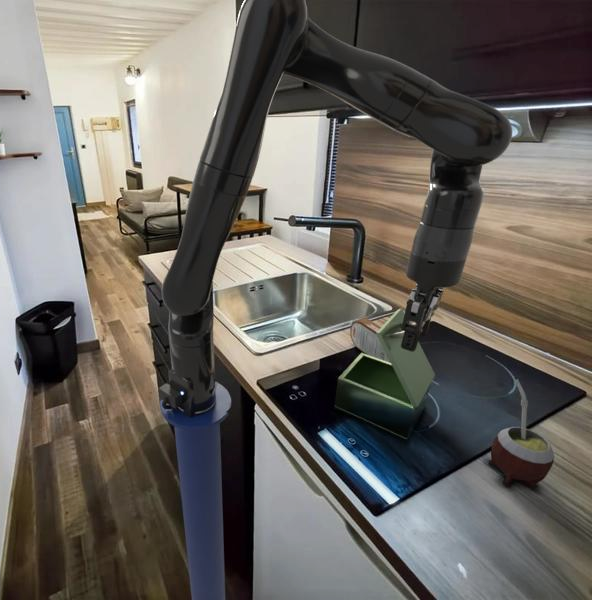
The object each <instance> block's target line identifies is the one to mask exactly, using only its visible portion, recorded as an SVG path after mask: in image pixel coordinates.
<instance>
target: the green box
mask: <svg viewBox="0 0 592 600" xmlns="http://www.w3.org/2000/svg"><path fill="white" fill-rule="evenodd" d="M431 385H432V383H431V384H430V386H429V387H428V389H427V391H426V393H425V395H424V396H423V398H422V400H421V402H420V404H419V405H418V407H413V406H412V404H411V402H410V400H409V398H408V396H407V394H406V392H405V390H404V388H403V386H402V384H401V382H400V380H399V378H398V376H397V374H396V372H395V370H394V368H393V366H392V364H391V363H390V362H387V361H384V360H381V359H378V358H375V357H372V356H369V355H366V354H365V353H363V352H361V353H359V354H358V356H357V357H356V358H355V359H354V360H353V361H352V363H351V364H349V366H348V367H346V369H345V370H344V371H343V372H342V374H341V375H340V376H339V377H338V378H337V385H336V391H335V392H336V393H335V399H334V406H333V409H334V410H336V411H339V413H343V414H345V415H346V416H349V417H351V418H353V419H356V420H357V421H359V422H362V423H364V424H366V425H369V426H371V427H372V428H375V429H377V430H379V431H381V432H383V433H386V434H388V435H390V436H392V437H394V438H396V439H398V440H401V441H403V442H405V443H406V442H408V440H409V437H410V436H411V434H412V432H413V430H414V429H415V426H416V424H417V423H418V421H419V419H420V417H421V415H422V413H423V412H424V410H425V407H426V403H427V399H428V395H429V392H430V389H431Z"/></svg>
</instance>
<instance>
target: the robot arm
mask: <svg viewBox="0 0 592 600" xmlns="http://www.w3.org/2000/svg"><path fill="white" fill-rule="evenodd" d="M283 75H285V76H289V77H292V78H295V79H298V80H300V81H302V82H305V83H308V84H310V85H312V86H314V87H317V88H319V89H321V90H323V91H325V92H326V93H329V94H330V95H332V96H334V97H336V98H337V99H339V100H341V101H343V103H346V104H347V105H349V106H350V107H352V108H354V109H355V110H357V111H359V112H361V113H362V114H364V115H365V116H367V117H369V118H371V119H373V120H374V121H376V122H378V123H379V124H381V125H383V126H385V127H387V128H389V129H391V130H393V131H394V132H396V133H398V134H400V135H403V136H406V137H408V138H412V139H415V140H417V141H419V142H420V143H422V144H423V145H424V146H425V145H426V146H427V147H429V148H430V149H432V152H431V157H430V168H429V179H428V190H427V195H426V198H425V201H424V204H423V208H422V212H421V215H420V221H419V224H418V226H417V229H416V230H415V234H414V237H413V242H412V245H411V250H410V254H409V257H408V261H407V265H406V270H405V276H406V277H407V278H408V279H409V280H410V281H412V282H414V283H415V284H416V285H415V288H412V289H411V292H410V294H409V298H408V300H407V301H406V306H405V310H404V314H405V315H404V319H403V324H402V326H401V330H402V331H405V332H404V336H403V339H402V343H401V348H403V349H405V350H408V351H411V352H413V351H415V349H416V347H417V344H418V342H419V340H420V336H422V337H424V336H426V335H427V333H428V330H429V327H430V323H431V320H432V318H433V316H435V311H437V310H438V308H439V306H440V302H441V300H442V297H443V296H444V292H445V290H444V288H450V287H454V286H456V285H458V284H459V283H460V280H461V277H462V274H463V271H464V268H465V265H466V261H467V259H468V256H469V253H470V249H471V246H472V243H473V238H474V231H475V226H476V223H477V220H478V217H479V214H480V212H481V211H480V210H481V208H482V204H483V200H484V189H483V187H482V185H481V181H480V179H481V173H482V170H483V166H484V165H487V164H490V163H492V162H494V161H495V160H497V159H498V158H500V157H501V156H502V155H503V154H504V153H505V152H506V151H507V149H508V148H509V146H510V145H511V141H512V139H513V127H512V124H511V122H510V119H509V118H508V117H507V116H506V114H504V113H503V112H502V111H500V110H499V109H497V108H495V107H493V106H492V105H489V104H487V103H485V102H482V101H479V100H477V99H474V98H472V97H469V96H468V95H465V94H462V93H459V92H456V91H453V90H450V89H449V88H446V87H445V86H443V85H442V84H440V83H438V81H436V80H434V79H432V78H430V77H428V76H427V75H425V74H423V73H421V72H420V71H418V70H416V69H415V68H413V67H410V66H408V65H406V64H404V63H402V62H400V61H398V60H395V59H393V58H390V57H388V56H385V55H382V54H380V53H379V54H378V53H375V52H371V51H369V50H365V49H362V48H358V47H356V46H353V45H350V44H348V43H347V42H344V41H342V40H340V39H338V38H336V37H334V36H333V35H331V34H329V33H328V32H326V31H325V30H324V29H322V28H321V27H320V26H318V24H316V23H315V22H314V21H312V20H311V18H309V16H308V6H307V2H306V0H244V1H243V3H242V5H241V7H240V9H239V13H238V17H237V21H236V27H235V31H234V37H233V42H232V46H231V52H230V56H229V61H228V65H227V71H226V75H225V79H224V84H223V87H222V91H221V95H220V98H219V101H218V104H217V106H216V109H215V112H214V115H213V117H212V119H211V122H210V126H209V129H208V132H207V135H206V138H205V141H204V145H203V148H202V151H201V153H200V156H199V160H198V162H197V165H196V170H195V173H194V175H193V180H192V184H191V189H190V192H189V197H188V200H187V206H186V209H185V215H184V221H183V225H182V226H183V227H182V232H181V237H180V240H179V244H178V246H177V249H176V252H175V255H174V257H173V259H172V262H171V265H170V267H169V268H168V271H166V272H167V273H166V274H165V277H164V278H163V281H162V284H161V298H162V299H161V300H162V301H163V304H164V305H165V307H166V309H167V310H168V313H169V314H168V326H167V331H168V342H169V351H170V362H171V369H170V370H168V380H169V383H167V382H166V383H164V384H163V385H162V386H160V387H158V395H159V400H163V403H162V407H163V408H164V409H169V410H170V409H171V408H172V407H173V408H175V409H178V410H179V411H181V412H183V413H184V414H186V415H187V416H189V417H191V418H192V417H193V416H195V415H200V414H204V413H207V412H208V411H210V410H211V409H212V408H213V407H214V406H215V404H216V393H215V389H216V386H217V383H218V381H216V372H215V371H216V369H215V344H214V341H215V340H214V322H215V321H214V320H215V319H214V315H215V312H214V309H215V308H214V277H215V273H216V269H217V266H218V263H219V259H220V256H221V253H222V250H223V249H224V246H225V244H226V242H227V240H228V238H229V236H230V234H231V232H232V230H233V227H234V225H235V223H236V222H237V219H238V217H239V214H240V212H241V209H242V207H243V205H244V203H245V200H246V197H247V195H248V193H249V189H250V186H251V184H252V181H253V178H254V176H255V172H256V169H257V165H258V162H259V158H260V156H261V155H260V154H261V150H262V145H263V141H264V135H265V131H266V126H267V120H268V116H269V111H270V107H271V105H272V102H273V99H274V96H275V93H276V91H277V89H278V87H279V84H280V82H281V79H282V77H283ZM411 321H412V322H415V323H416V324H417V325H413V324H410V322H411ZM425 321H426V323H425ZM424 323H425V324H424ZM215 382H216V385H215ZM166 404H169V405H166Z"/></svg>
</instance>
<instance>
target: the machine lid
mask: <svg viewBox="0 0 592 600" xmlns="http://www.w3.org/2000/svg"><path fill="white" fill-rule="evenodd" d="M404 315H405V311H404V310H403V308H398V309H397V310H396V311H394V313H393V314H392V315H391V316H390V317H389V318H388V319H387V320H386V322H385V323H383V325H382V326H380V327H381V328H380V329H379V330H378V332H377V333H376V335H377V337H378V339H379V341H380V343H381V344H382V346H383V348H384V350H385V352H386V354H387V356H388V358H389V360H390V362H391V364H392V366H393V368H394V370H395V372H396V374H397V376H398V378H399V380H400V382H401V384H402V386H403V388H404V390H405V392H406V394H407V396H408V398H409V400H410V402H411V404H412V406H413V407H418V405H419V404H420V402H421V400H422V398H423V396H424V395H425V393H426V391H427V389H428V387H429V386H430V387H431V385H432V382H433V381H434V378H435V377H436V373H435V371H434V370H433V367H432V366H431V363H430V362H429V360H428V358H427V356H426V354H425V351H424V350H423V347H422V346H421V343H420V341H418V344H417V347H416V349H415V351H413V352H411V351H408V350H405V349H403V348H401V343H402V339H403V336H404V332H405V331H402V330H401V326H402V324H403V319H404ZM425 323H426V321H425ZM425 323H424V324H425ZM410 324H413V325H417V324H416V323H415V322H412V321H411V322H410ZM430 384H431V385H430Z"/></svg>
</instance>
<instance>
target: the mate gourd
mask: <svg viewBox="0 0 592 600" xmlns="http://www.w3.org/2000/svg"><path fill="white" fill-rule="evenodd" d="M514 382H515V384H516V386H517V389H518V391H519V394H520V397H521V399H520V406H521V423H520V424H521V427H520V426H511V427H506V428H504V429H502V430H500V431H499V432H498V433H497V435H496V436H495V437H494V439H493V440H492V443H491V448H490V459H489V460H488V462H487V464H488V466H490V467H492V468H494V469H496V470H497V471H499V472H501V473H503V474H505V477H504V478H503V480H502V481H501V485H502V486H504V487H506V488H509V486H511V485H510V484H511V483H512V482H513V480H515V481H518V482H519V483H521V484H523V485H525V486H527V487H528V488H531V489H532V490H536V489H538V484H539V483H540V482H542V481H543V480H544V479H546V477H547V476H548V474H549V472H550V471H551V469H552V467H553V466H554V465H553V464H554V462H555V454H554V453H555V452H554V451H553V448H552V445H551V444H550V442H549V441H548V440H547V439H546V438H545V437H544V436H542V435H541V434H539V433H538V432H536V431H534V430H531V429H529V428H527V417H528V407H529V400H528V399H527V396H526V392H525V390H524V388H523V386H522V384H521V382H520V380H519V379H518V378H515V379H514Z"/></svg>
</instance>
